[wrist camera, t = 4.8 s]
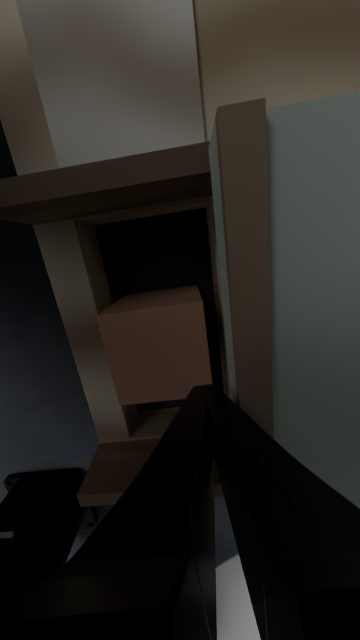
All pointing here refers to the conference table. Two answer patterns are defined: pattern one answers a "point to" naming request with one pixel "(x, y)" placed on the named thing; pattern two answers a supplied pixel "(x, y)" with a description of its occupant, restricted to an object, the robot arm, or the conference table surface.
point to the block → (156, 344)
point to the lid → (293, 274)
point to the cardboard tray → (141, 148)
